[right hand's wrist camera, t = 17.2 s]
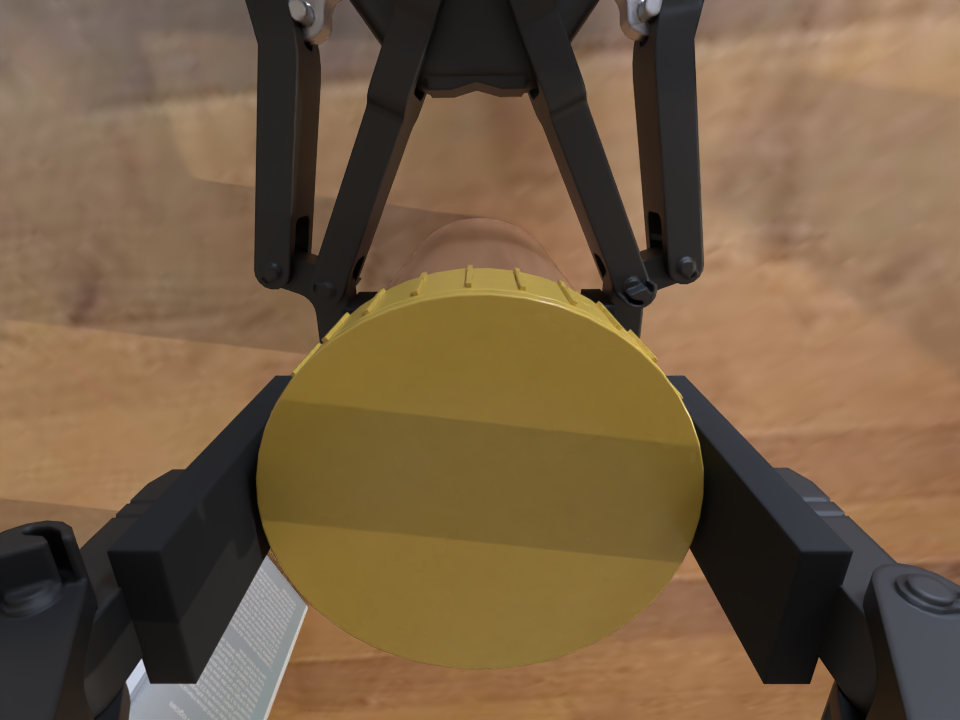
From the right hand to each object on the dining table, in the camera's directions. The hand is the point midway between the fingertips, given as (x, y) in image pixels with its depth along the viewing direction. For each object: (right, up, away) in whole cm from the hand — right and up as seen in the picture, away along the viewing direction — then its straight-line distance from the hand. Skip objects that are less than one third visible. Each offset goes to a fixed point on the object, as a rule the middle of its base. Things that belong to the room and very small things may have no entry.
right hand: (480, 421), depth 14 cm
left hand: (0, -2, +8) cm, 8 cm away
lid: (0, -1, -3) cm, 3 cm away
